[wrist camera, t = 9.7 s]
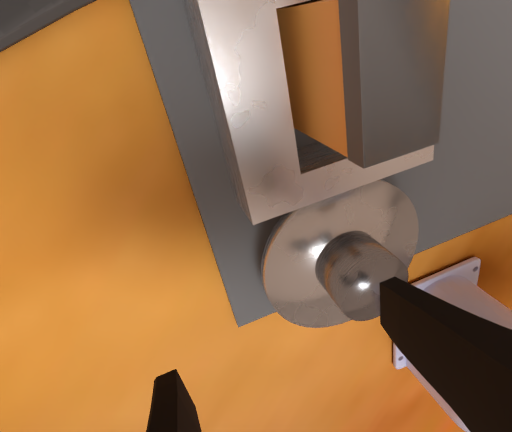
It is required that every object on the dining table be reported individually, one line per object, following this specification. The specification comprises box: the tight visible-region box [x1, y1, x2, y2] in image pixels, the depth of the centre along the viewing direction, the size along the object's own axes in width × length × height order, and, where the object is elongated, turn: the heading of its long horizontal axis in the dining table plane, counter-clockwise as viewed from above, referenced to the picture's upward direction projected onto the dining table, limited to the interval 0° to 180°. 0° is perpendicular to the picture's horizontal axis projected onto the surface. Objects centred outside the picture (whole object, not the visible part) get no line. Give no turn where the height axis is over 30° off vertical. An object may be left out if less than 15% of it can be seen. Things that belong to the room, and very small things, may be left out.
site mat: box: [129, 0, 512, 327], centre depth 19 cm, size 24×24×1 cm
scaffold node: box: [183, 0, 434, 328], centre depth 16 cm, size 26×10×5 cm, turn 12°
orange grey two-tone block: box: [276, 0, 451, 169], centre depth 14 cm, size 5×3×7 cm, turn 11°
